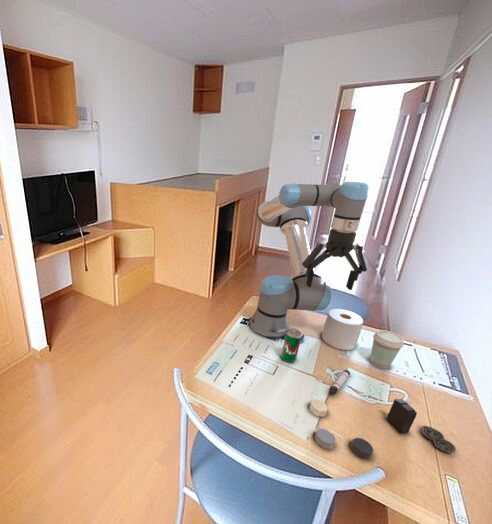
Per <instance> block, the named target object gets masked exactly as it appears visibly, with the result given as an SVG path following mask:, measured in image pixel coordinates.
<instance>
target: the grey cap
mask: <svg viewBox="0 0 492 524" xmlns="http://www.w3.org/2000/svg"><path fill="white" fill-rule="evenodd" d="M314 440H315V443H316V444H317V445H318V446H319V447H321V448H323V449H325V450H332V449H333V448H334V447H335V446H334V445H335V443H336V437H335V435H334V434H333V433H332V432H331V431H330V430H328V429H325V428H318V429H317V430H316V431H315V436H314Z"/></svg>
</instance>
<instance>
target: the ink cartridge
mask: <svg viewBox="0 0 492 524" xmlns="http://www.w3.org/2000/svg"><path fill="white" fill-rule="evenodd" d="M417 414H418V412H417V411H416V410H415V409H414V408H413V407H412V406H411V405H410V404H409V403H408V402H407V401H406V400H404V399H403V398H395V399H394V400H393V402H392V405H391V407H390V408H389V411H388V414H387V416H386V420H387V422H388V423H390V425H391V426H392V427H393V428H394V429H395V430H396V431H397V432H398V433H399V434H408V433H410V429H411V428H412V425H413V423H414V421H415V419H416V417H417Z"/></svg>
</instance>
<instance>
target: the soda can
mask: <svg viewBox="0 0 492 524" xmlns="http://www.w3.org/2000/svg"><path fill="white" fill-rule="evenodd" d="M302 337H303V336H302V332H301V331H300V330H299V329H296V328H288V331H287V332H286V336H284V340H283V344H282V350H281V354H280V357H281V359H282V360H283V361H285V362H286V363H291V364H292V363H294V362H296V361H297V357H298V354H299V353H298V352H299V348H300V344H301V341H302Z"/></svg>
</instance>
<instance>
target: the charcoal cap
mask: <svg viewBox="0 0 492 524" xmlns="http://www.w3.org/2000/svg"><path fill="white" fill-rule="evenodd" d="M350 450H351V451H352V453H353V454H354V455H355V456H356V457H359V458H360V459H363V460H369V459H371V457H372V455H373V453H374V447H373V445H372V444H371V443H370V442H368V440H366V439H364V438H361V437H354V438H353V439H352V442H351V445H350Z"/></svg>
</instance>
